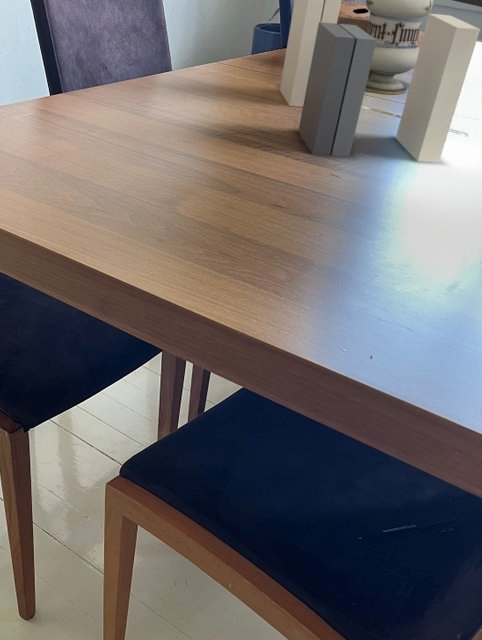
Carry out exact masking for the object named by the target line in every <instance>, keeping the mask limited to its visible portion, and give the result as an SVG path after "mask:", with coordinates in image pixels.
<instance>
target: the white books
mask: <svg viewBox="0 0 482 640" xmlns="http://www.w3.org/2000/svg"><path fill="white" fill-rule="evenodd" d="M341 1H342V0H294V1H293V2H294V3H293V9H292V14H291V21H290V26H289V32H288V38H287V44H286V45H287V46H286V50H285V56H284V57H285V58H284V64H283V69H282V74H281V80H280V86H279V92H280V94H281V95H282V96H283V98H284V100H285V101H286V103H287V105H288V106H289V107H296V108H297V107H298V108H303V104H304V99H305V93H306V88H307V83H308V78H309V72H310V67H311V62H312V56H313V51H314V46H315V40H316V35H317V30H318V24H319V22H321V23H334V24H337V20H338V15H339V10H340V5H341Z"/></svg>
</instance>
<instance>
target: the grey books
mask: <svg viewBox="0 0 482 640" xmlns="http://www.w3.org/2000/svg"><path fill="white" fill-rule="evenodd" d="M376 41H377V40H376V39H375V38H373V37H372V36H370V35H369V34H367V33H366V32H365V31H363V30H362V29H360V28H359V27H358V26H356V25H347V24H338V25H337V24H334V23H321V22H319V24H318V30H317V35H316V40H315V46H314V51H313V56H312V62H311V67H310V72H309V78H308V83H307V88H306V93H305V99H304V104H303V107H302V110H301V116H300V120H299V125H298V131H297V132H298V133H299V135H300V137H301V138H302V141H304V143H305V145H306V146H307V148H308V149H309V152H310V153H311V154H312V155H321V156H335V157H350V156H351V152H352V148H353V143H354V138H355V135H356V131H357V127H358V121H359V119H360V118H359V117H360V114H361V113H360V112H361V109H362V104H363V100H364V96H365V93H366V90H365V88H366V84H367V79H368V75H369V71H370V67H371V62H372V58H373V54H374V50H375V45H376Z"/></svg>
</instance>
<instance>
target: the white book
mask: <svg viewBox="0 0 482 640" xmlns="http://www.w3.org/2000/svg"><path fill="white" fill-rule="evenodd" d="M427 16H428V17H427V19H426V24H425V27H424V31H423V33H422V34H423V35H422V38H421V42H420V46H419V53H418V57H417V60H416V64H415V67H414V68H413V71H412V76H411V79H410V83H409V87H408V91H407V94H406V98H405V102H404V106H403V110H402V112H401V113H402V114H401V116H400V121H399V124H398V127H397V132H396V135H395V139H396V140H397V141H398V143H400V145H401V146H402V147H403V148H404V149H405V150H406V151H407V152H408V153H409V154H410V155H411V156H412V157H413V158H414V159H415V160H416V161H417V162H422V163H424V162H425V163H436V164H437V163H440V161H441V157H442V153H443V151H444V147H445V144H446V141H447V137H448V135H449V131H450V128H451V125H452V121H453V118H454V115H455V112H456V108H457V105H458V102H459V99H460V95H461V92H462V89H463V86H464V82H465V79H466V77H467V73H468V70H469V66H470V63H471V60H472V58H473V53H474V50H475V47H476V44H477V40H478V37H479V34H480V32H481V29H480V28H479V27H476V26H474V25H472V24H470V23H467V22H465V21H463V20H462V19H459V18H457V17H455V16H452V15H451V14H450V15H449V14H438V13H429V14H428V15H427Z"/></svg>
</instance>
